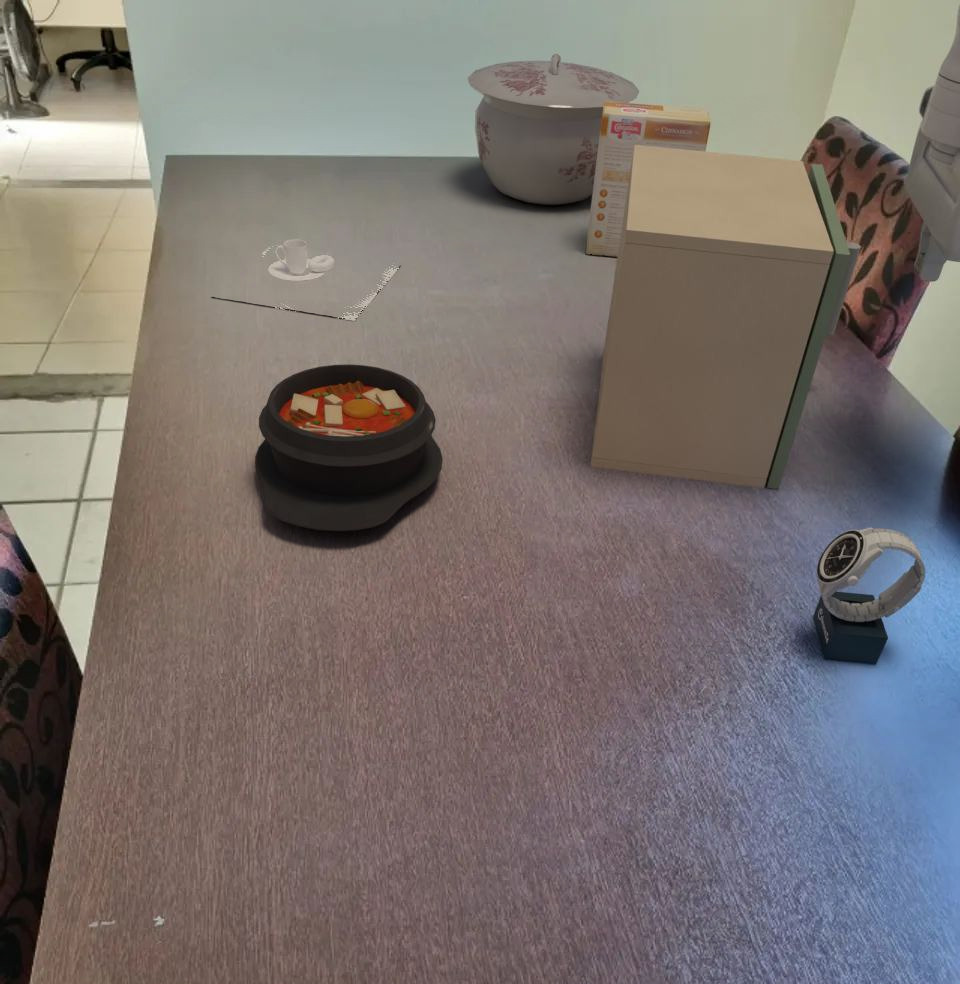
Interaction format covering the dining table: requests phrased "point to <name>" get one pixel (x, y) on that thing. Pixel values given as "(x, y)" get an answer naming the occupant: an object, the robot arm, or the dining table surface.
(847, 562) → the watch
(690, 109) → the coffeecake box
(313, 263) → the teacup and saucer
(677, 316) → the cupboard
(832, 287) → the cupboard door
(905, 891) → the dining table surface
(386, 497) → the casserole
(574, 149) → the chamber pot
